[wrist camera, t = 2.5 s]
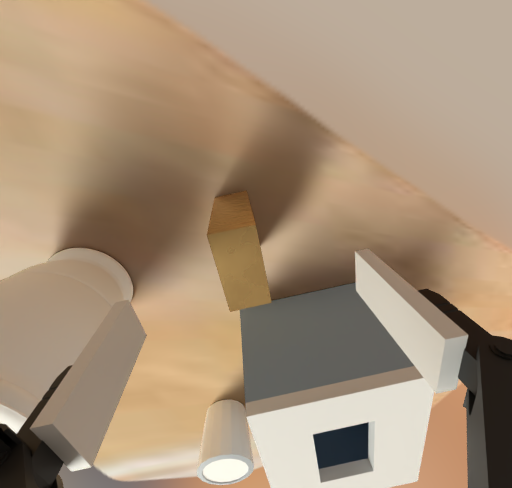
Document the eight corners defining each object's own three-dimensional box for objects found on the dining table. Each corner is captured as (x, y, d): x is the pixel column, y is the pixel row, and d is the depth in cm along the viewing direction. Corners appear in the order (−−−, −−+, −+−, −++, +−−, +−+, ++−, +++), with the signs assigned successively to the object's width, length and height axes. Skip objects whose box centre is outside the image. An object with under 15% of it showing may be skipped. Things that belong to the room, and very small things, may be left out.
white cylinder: (246, 392, 35) (249, 450, 29) (252, 421, 38) (257, 480, 32) (197, 401, 35) (190, 462, 29) (207, 429, 38) (203, 490, 32)
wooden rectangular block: (214, 197, 23) (206, 235, 15) (246, 190, 23) (255, 224, 15) (229, 253, 26) (230, 311, 18) (258, 247, 26) (271, 302, 18)
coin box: (239, 307, 29) (246, 416, 18) (359, 281, 29) (437, 374, 18) (264, 394, 36) (279, 511, 25) (360, 373, 36) (417, 481, 25)
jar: (9, 251, 23) (-293, 421, 10) (115, 224, 23) (-42, 357, 10) (71, 333, 28) (-77, 525, 14) (160, 310, 28) (95, 483, 14)
